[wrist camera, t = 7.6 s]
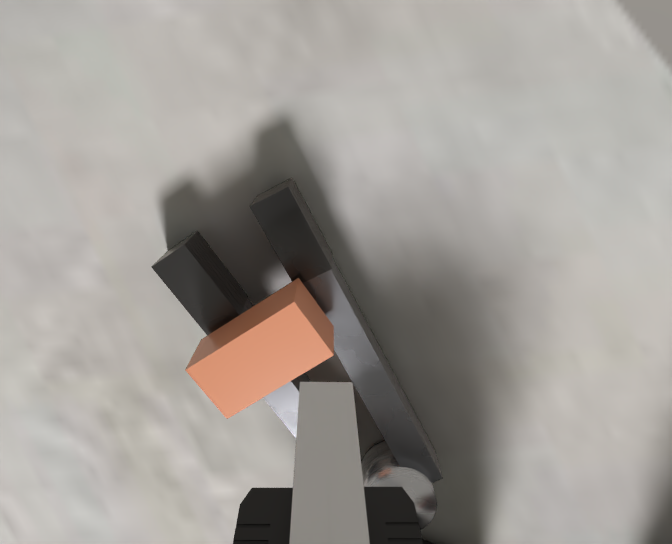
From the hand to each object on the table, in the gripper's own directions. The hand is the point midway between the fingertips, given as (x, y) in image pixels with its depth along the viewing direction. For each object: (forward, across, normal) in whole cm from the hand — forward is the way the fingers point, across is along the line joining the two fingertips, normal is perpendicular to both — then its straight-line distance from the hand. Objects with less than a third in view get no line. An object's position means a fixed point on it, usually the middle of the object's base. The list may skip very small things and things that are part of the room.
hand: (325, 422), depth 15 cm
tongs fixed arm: (+14, -3, -5) cm, 15 cm away
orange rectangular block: (+10, -3, -2) cm, 11 cm away
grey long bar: (+13, +1, -5) cm, 14 cm away
